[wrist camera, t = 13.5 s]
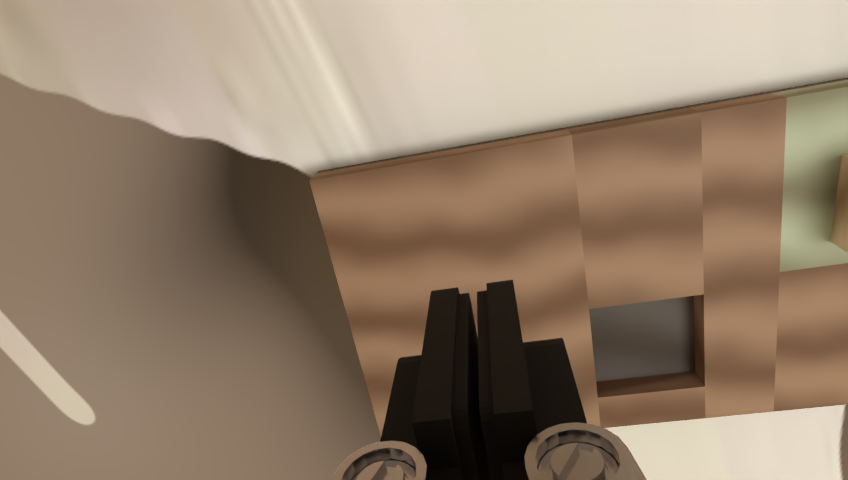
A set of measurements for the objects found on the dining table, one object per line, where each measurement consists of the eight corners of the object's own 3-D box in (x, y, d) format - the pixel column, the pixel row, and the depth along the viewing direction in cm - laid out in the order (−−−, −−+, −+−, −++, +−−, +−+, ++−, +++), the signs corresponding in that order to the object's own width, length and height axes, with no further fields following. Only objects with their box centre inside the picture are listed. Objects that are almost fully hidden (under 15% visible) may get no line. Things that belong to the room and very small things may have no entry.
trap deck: (318, 171, 40) (309, 180, 38) (1139, 26, 33) (1190, 27, 31) (388, 428, 49) (384, 449, 47) (1054, 360, 41) (1088, 380, 39)
